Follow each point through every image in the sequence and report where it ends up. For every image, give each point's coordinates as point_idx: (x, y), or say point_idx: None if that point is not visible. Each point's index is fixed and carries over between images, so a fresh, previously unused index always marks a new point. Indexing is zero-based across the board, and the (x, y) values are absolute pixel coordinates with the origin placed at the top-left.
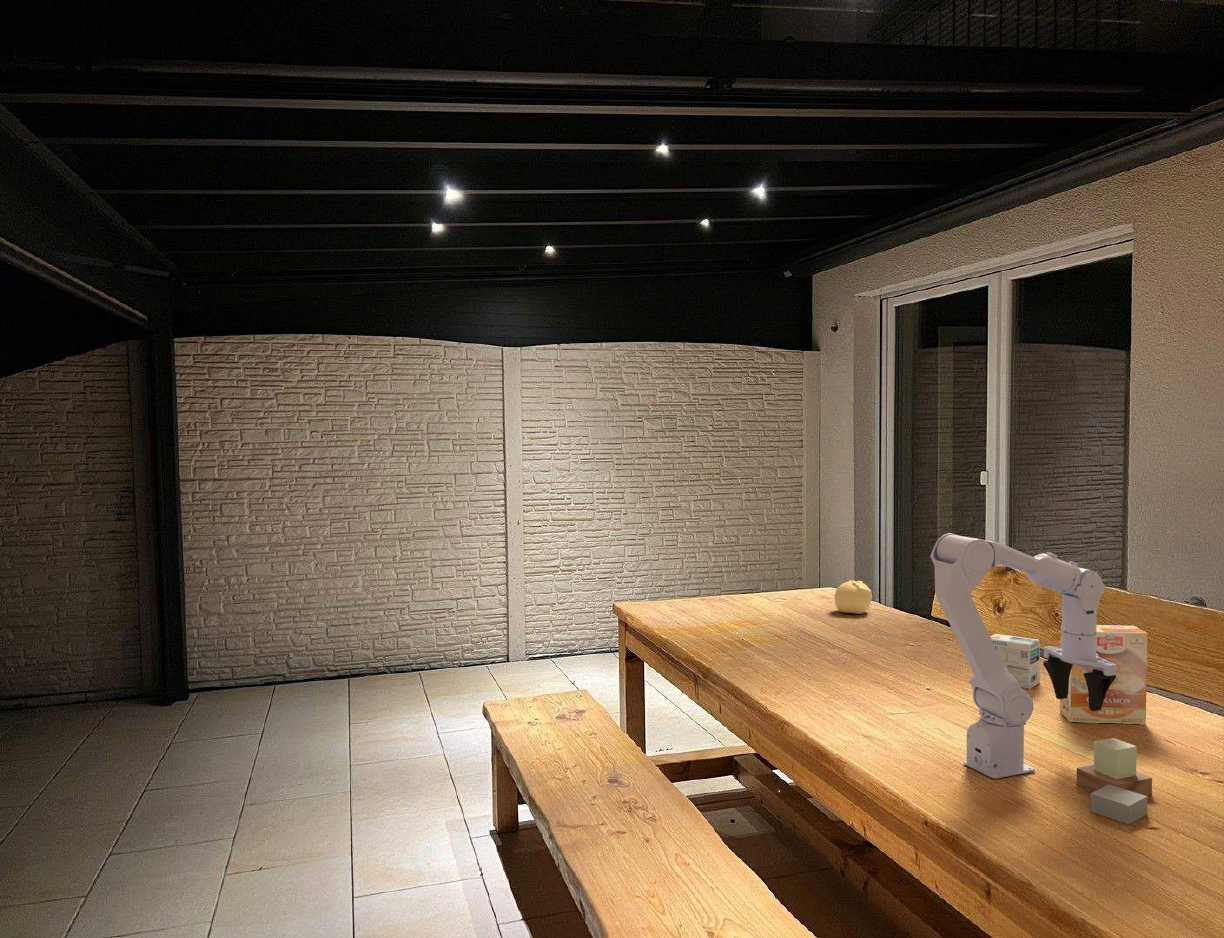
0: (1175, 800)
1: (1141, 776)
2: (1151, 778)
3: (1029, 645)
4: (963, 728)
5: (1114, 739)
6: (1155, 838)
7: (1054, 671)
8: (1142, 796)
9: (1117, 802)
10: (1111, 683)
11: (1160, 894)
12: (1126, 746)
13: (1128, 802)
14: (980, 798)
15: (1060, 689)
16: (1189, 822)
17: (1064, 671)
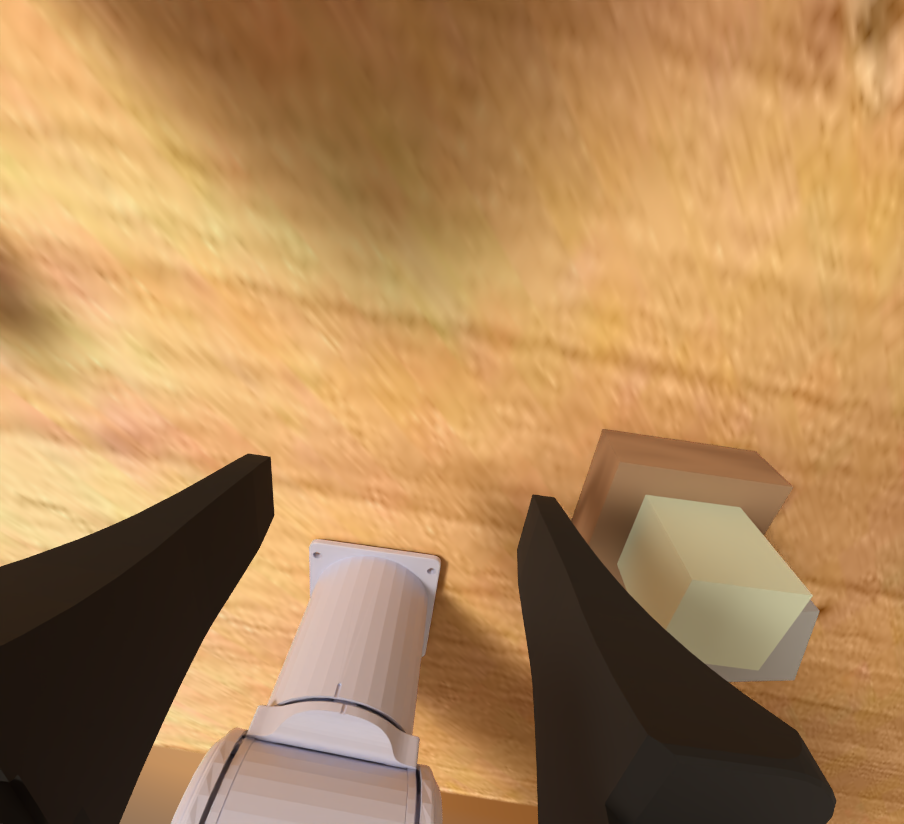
0: (828, 429)
1: (758, 502)
2: (790, 488)
3: None
4: (35, 436)
5: (704, 592)
6: (834, 646)
7: (145, 747)
8: (807, 619)
9: (762, 680)
10: (709, 674)
11: (886, 775)
12: (775, 620)
13: (786, 668)
14: (478, 720)
15: (240, 552)
16: (893, 531)
17: (132, 652)
